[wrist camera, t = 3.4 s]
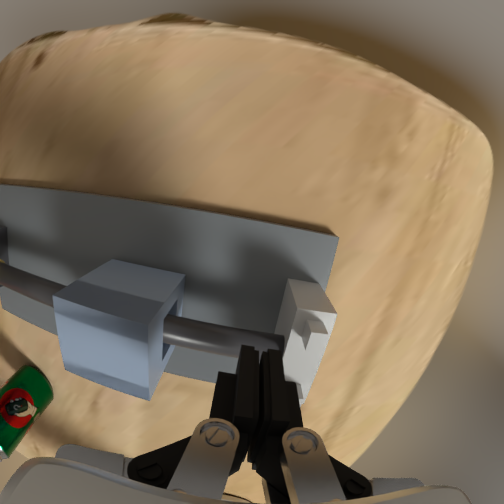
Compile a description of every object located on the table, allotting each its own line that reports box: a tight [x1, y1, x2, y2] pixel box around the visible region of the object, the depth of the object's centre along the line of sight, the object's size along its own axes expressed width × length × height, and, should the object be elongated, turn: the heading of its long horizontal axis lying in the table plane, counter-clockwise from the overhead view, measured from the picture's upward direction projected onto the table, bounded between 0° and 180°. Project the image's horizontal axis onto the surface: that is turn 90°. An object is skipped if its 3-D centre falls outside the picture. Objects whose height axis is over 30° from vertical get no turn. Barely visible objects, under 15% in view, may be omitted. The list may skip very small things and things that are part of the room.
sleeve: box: [52, 259, 186, 401], centre depth 13 cm, size 5×4×6 cm
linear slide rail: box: [0, 184, 339, 407], centre depth 15 cm, size 28×12×6 cm, turn 80°
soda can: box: [0, 365, 53, 462], centre depth 15 cm, size 5×5×12 cm
